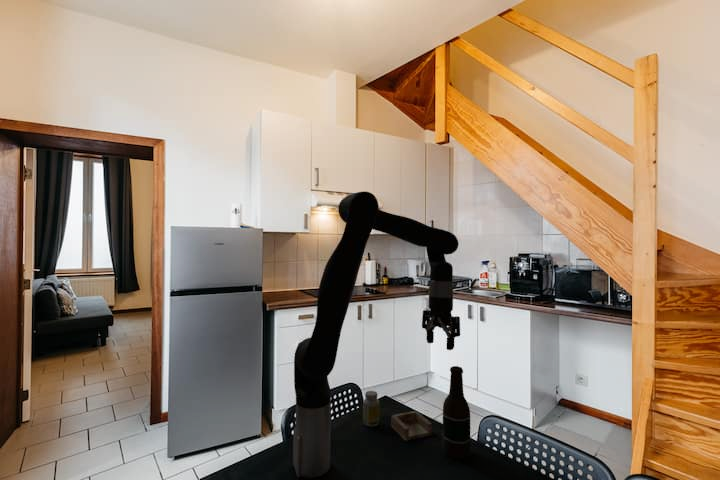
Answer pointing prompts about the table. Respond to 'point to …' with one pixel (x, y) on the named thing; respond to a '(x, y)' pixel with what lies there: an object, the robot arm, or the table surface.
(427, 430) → the u holder
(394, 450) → the table surface
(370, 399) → the supplement bottle
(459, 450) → the beer bottle
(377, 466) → the table surface
